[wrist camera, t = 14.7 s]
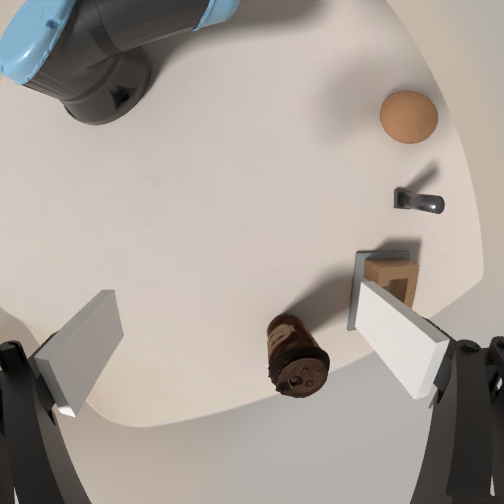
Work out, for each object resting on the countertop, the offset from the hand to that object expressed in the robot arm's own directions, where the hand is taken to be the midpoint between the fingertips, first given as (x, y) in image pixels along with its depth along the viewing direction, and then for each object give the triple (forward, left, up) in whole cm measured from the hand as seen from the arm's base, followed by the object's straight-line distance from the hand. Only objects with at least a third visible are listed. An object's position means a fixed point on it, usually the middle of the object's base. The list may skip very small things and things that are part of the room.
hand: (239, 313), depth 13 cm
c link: (+11, +25, -26) cm, 38 cm away
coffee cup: (+17, +8, -27) cm, 33 cm away
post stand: (-5, +28, -27) cm, 39 cm away
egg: (-18, +26, -27) cm, 42 cm away
